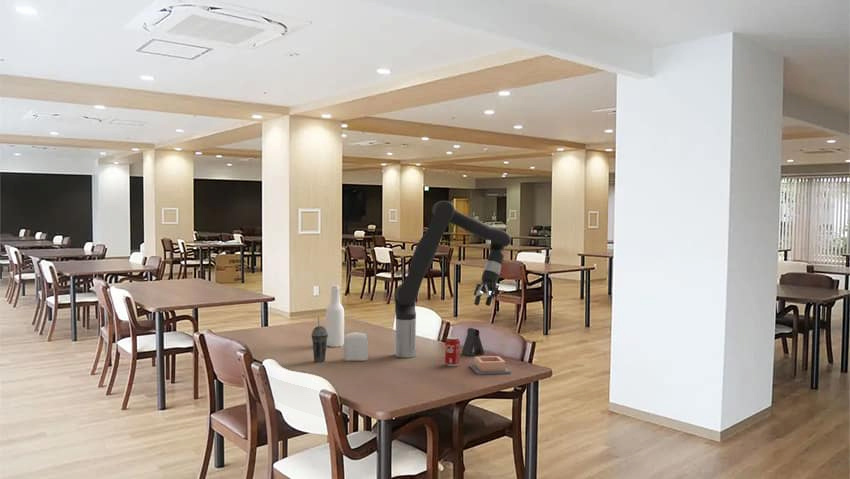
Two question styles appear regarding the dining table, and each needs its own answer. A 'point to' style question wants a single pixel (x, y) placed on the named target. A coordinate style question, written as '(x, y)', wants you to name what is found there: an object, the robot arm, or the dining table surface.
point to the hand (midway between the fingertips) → (481, 305)
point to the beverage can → (452, 351)
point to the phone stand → (472, 343)
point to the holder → (490, 365)
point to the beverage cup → (319, 343)
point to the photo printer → (356, 347)
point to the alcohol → (335, 319)
